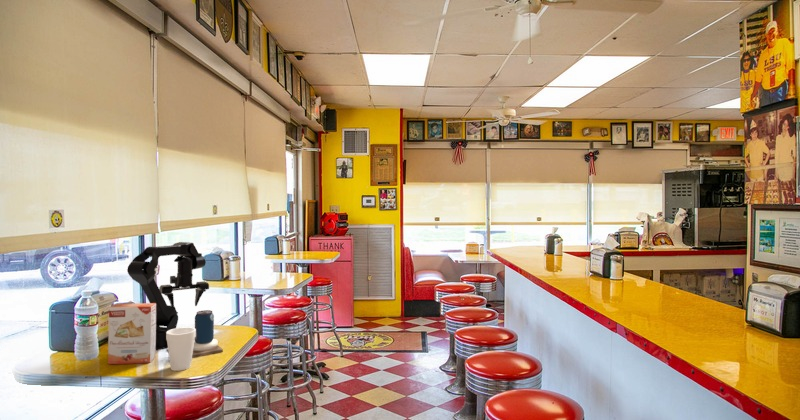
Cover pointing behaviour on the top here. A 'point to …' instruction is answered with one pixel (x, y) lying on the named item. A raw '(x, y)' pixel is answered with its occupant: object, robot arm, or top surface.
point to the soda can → (204, 327)
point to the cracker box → (132, 333)
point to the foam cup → (180, 347)
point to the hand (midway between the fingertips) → (184, 307)
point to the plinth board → (196, 353)
